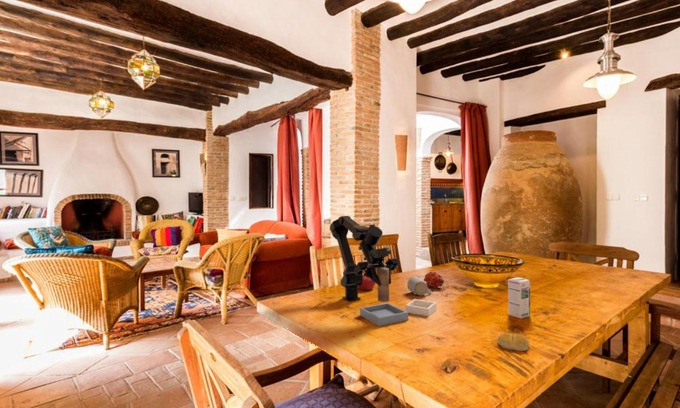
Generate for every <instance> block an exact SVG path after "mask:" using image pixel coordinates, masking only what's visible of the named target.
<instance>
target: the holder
mask: <svg viewBox="0 0 680 408" xmlns="http://www.w3.org/2000/svg"><path fill="white" fill-rule="evenodd" d="M405 311H407V312H408V314H413V315H419V316H424V317H430V316H431V315H432V314H434V312H435V311H437V302H436V301H428V300H423V299H417V298H414V299H412V300H411V301H410V302H408V303H407V304H406V305H405Z"/></svg>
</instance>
